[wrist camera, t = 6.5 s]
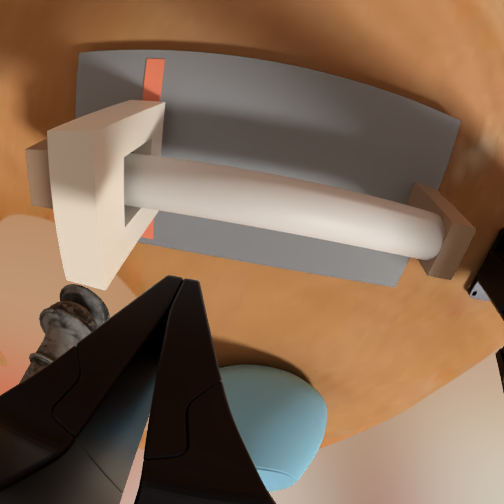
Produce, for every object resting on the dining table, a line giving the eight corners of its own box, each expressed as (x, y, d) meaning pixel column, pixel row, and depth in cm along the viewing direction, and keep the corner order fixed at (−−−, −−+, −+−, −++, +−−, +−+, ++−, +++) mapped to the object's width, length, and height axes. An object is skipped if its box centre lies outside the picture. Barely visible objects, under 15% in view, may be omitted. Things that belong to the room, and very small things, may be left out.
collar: (165, 101, 15) (94, 132, 9) (158, 211, 18) (105, 290, 12) (130, 99, 15) (46, 130, 8) (127, 206, 18) (66, 280, 12)
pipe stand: (451, 117, 15) (513, 145, 10) (390, 277, 22) (416, 341, 16) (89, 52, 14) (21, 58, 9) (89, 223, 21) (42, 275, 16)
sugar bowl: (354, 383, 29) (368, 489, 19) (276, 436, 37) (273, 516, 27) (216, 332, 26) (191, 462, 16) (166, 402, 34) (144, 490, 24)
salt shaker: (49, 279, 24) (-22, 380, 14) (101, 283, 24) (32, 404, 14) (70, 326, 28) (18, 423, 18) (120, 333, 27) (72, 445, 17)
